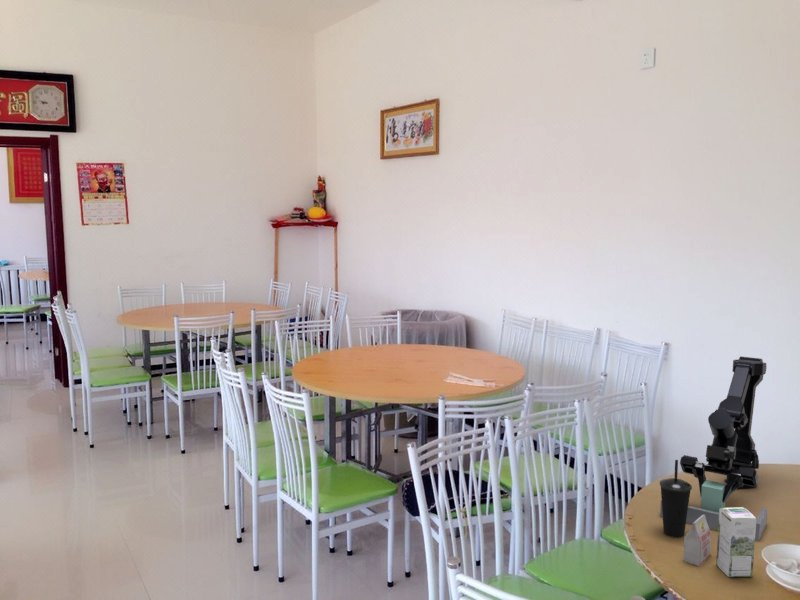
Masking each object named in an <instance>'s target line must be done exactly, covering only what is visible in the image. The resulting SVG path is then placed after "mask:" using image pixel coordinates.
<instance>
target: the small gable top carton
mask: <svg viewBox="0 0 800 600" xmlns="http://www.w3.org/2000/svg"><path fill="white" fill-rule="evenodd" d="M683 537H684V538H683V539H684V540H683V562H685V563H688V564H690V565H693V566H694V565H695V566H697V567H700V566H701V565H702V564H704V563H705V561H707V560H708V559H709V558H710V557H711V547H712V545H711V544H712V543H711V542H712V541H711V539H712V531H711V529H709V526H708V524H707V521H706V518H705V515H702V516H701V517H699V518H698V519H697V520H696V521H695V522H693V523H692V524H691V527H690V528H689V530H688V532H687V533H686V534H685V535H684V536H683Z"/></svg>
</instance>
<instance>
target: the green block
mask: <svg viewBox="0 0 800 600" xmlns="http://www.w3.org/2000/svg"><path fill="white" fill-rule="evenodd" d="M726 485H727V483H723V482H719V481H714V480H709V479H706V481H705V482H704V483H703V485H702V492H701V495H700V508H701V509H705V510H709V511H713V512H718V513H719V509H720V508H726V501H727V500H726V501H725V502H723V501H722V500H723V494H724V491H725V488H726Z"/></svg>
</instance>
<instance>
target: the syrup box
mask: <svg viewBox="0 0 800 600" xmlns="http://www.w3.org/2000/svg"><path fill="white" fill-rule="evenodd" d="M756 519H757V518H756V516H755V515H754V514H753V513H752V512H750V510H748V509H747V508H745V507H744V506H741V507H740V506H737V507H725V508H720V509H719V526H718V531H717V545H716V547H717V548H716V561H715V562H716V563H715V565H716V566H717V568H719V569H720V570H721V571H722V573H724V575H726V576H727V577H728V578H746V577H747V578H750V577H751V578H752V577H753V573H754V559H755V558H754V557H755V546H756V545H755V544H756V540H755V532H756Z"/></svg>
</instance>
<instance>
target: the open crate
mask: <svg viewBox="0 0 800 600" xmlns="http://www.w3.org/2000/svg"><path fill="white" fill-rule="evenodd" d="M659 511H660V512H659V517H661V518H663V514H662V499H661V500H660V510H659ZM702 515H705V518H706V521H707V524H708V526H709V529H710V530H712V531H717V532H718V526H719V513H718V512H713V511H709V510H705V509H701V507H695V506H691V505H688V511H687V518H686V524H688V525H692V523H693V522H695V521H696V520H697V519H698V518H699V517H701V516H702ZM767 520H768V508H767V507H763V506H762V507H761V509H760V511H759V514H758V515H757V518H756V532H755V542H756V541H757V542H759V541H760V539H761V538H762V535H763V533H764V532H765V528H766V527H767V523H768V521H767Z"/></svg>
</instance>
